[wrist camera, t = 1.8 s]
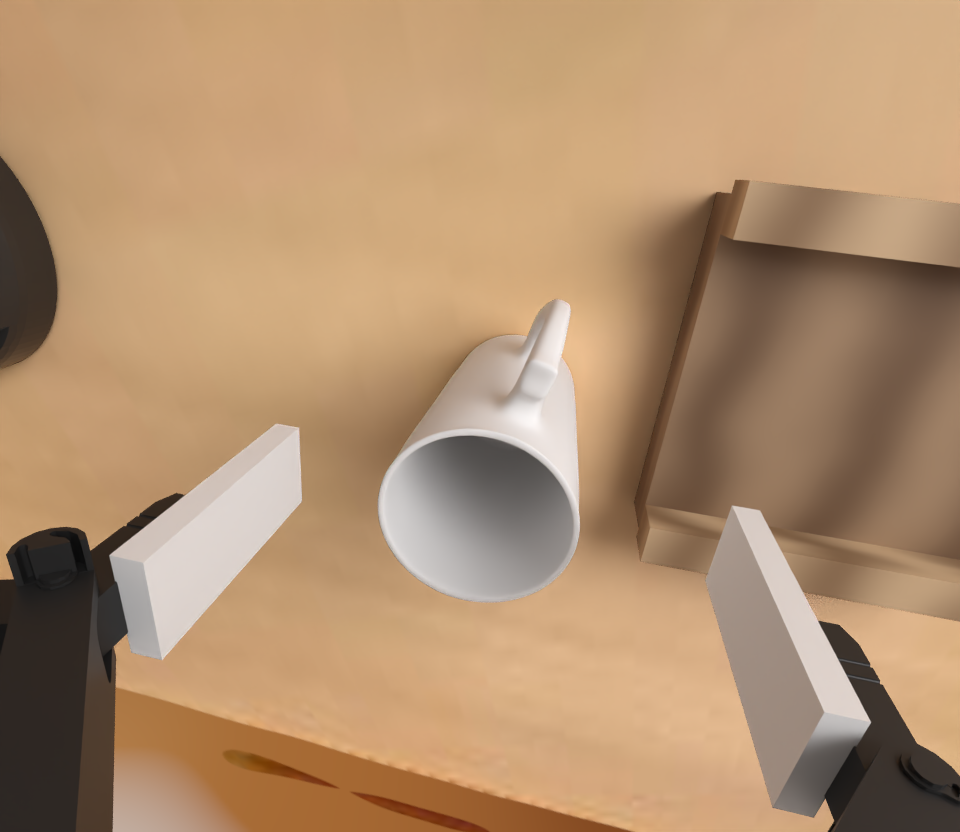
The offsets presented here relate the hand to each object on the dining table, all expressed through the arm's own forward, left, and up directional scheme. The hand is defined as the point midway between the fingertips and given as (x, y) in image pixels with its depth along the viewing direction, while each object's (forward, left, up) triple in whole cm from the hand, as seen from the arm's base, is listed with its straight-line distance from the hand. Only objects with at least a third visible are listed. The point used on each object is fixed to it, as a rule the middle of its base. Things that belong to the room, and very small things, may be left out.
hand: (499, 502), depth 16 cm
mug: (0, 0, -13) cm, 13 cm away
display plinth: (+15, +1, -13) cm, 19 cm away
